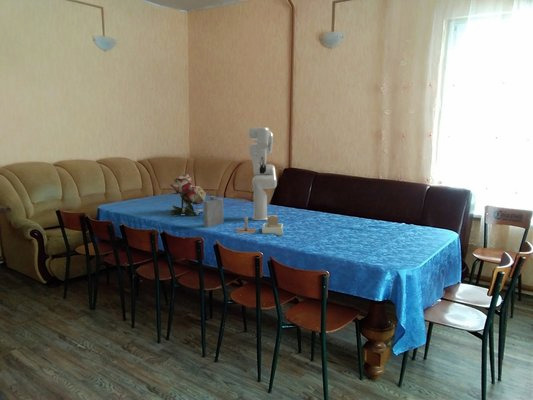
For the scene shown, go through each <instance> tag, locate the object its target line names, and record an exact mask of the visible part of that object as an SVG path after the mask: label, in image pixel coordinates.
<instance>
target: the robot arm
mask: <svg viewBox="0 0 533 400" xmlns="http://www.w3.org/2000/svg"><path fill="white" fill-rule="evenodd" d="M247 133H248V138H249V140H252V141H254V142H255V143H251V144H250V145H249V146H248V153H249V157H250V159H251V161H252V166H253V167H252V168H253V175H254V177H253V178H252V181H251V183H252V188H253V189H252V190H253V215H252V216H251V220H252V221H267V216H268V195H267V192H266V191H265V189H267V190H269V189H270V190H271V189H276V188H277V185H278V181H277V172H276V171H277V170H276V167H275V165H274V164H269V163H268V164H267V156H268V155H271V154H272V153H273V149H274V148H273V147H274V134H273V132H272V131H271V130H270V128H269V127H268V126H266V127H265V126H255V127H254V126H253V127H249V129H248V132H247Z"/></svg>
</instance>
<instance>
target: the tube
mask: <svg viewBox="0 0 533 400" xmlns="http://www.w3.org/2000/svg"><path fill="white" fill-rule="evenodd" d="M266 223H267V227H268V228H278V223H279V216H278V215H276V214H275V215H267V220H266Z"/></svg>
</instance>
